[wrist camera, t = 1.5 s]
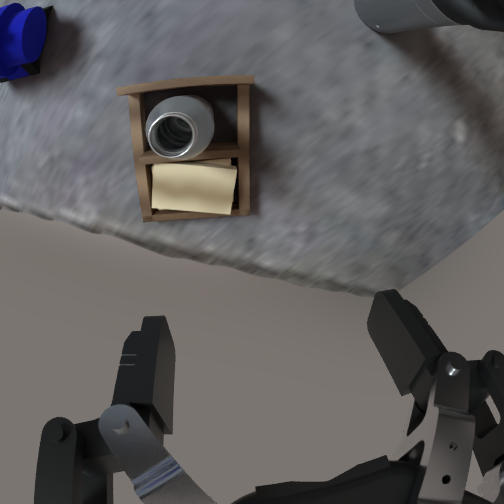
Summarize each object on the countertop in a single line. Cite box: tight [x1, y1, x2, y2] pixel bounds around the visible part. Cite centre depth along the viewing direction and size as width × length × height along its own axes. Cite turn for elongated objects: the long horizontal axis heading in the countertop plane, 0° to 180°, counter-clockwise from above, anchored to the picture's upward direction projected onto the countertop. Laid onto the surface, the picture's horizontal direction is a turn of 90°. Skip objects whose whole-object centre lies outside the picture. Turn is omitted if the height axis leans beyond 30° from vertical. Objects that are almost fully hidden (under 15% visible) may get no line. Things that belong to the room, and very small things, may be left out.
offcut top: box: [152, 161, 237, 215], centre depth 39 cm, size 6×11×2 cm, turn 81°
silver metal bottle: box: [145, 95, 215, 160], centre depth 29 cm, size 6×7×20 cm
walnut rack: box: [117, 75, 254, 222], centre depth 36 cm, size 20×16×8 cm
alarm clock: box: [0, 3, 52, 83], centre depth 19 cm, size 12×12×15 cm
